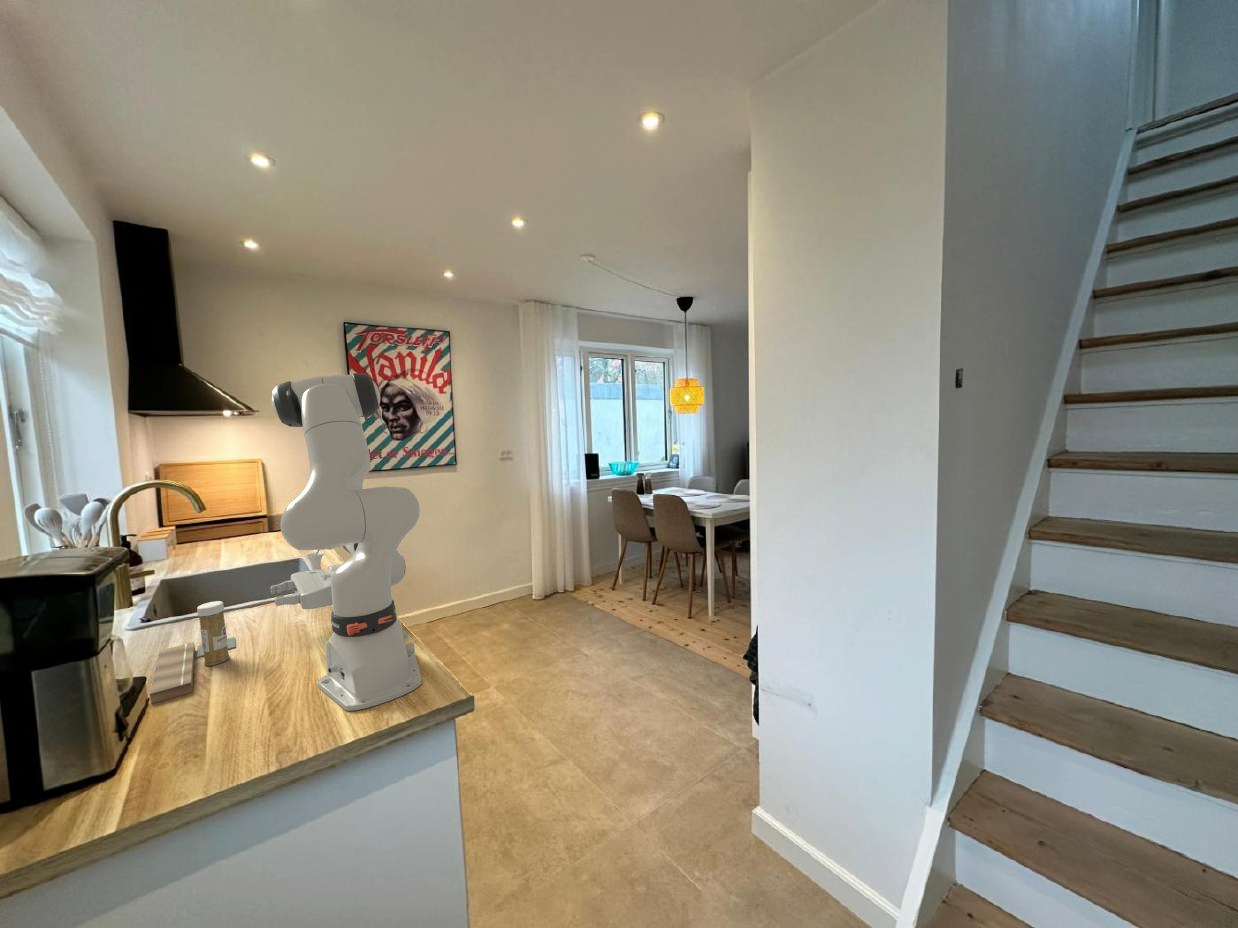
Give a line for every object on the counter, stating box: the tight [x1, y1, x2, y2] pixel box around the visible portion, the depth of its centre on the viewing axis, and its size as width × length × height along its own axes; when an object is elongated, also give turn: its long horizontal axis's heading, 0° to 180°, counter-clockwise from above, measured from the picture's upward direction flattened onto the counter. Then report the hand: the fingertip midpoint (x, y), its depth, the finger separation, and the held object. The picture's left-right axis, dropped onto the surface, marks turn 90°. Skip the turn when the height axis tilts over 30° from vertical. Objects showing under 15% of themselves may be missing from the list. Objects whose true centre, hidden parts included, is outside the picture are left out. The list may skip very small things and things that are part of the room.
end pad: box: [196, 636, 237, 658], centre depth 118 cm, size 7×7×1 cm
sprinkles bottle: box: [196, 600, 230, 667], centre depth 110 cm, size 5×5×13 cm
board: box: [149, 641, 196, 705], centre depth 106 cm, size 24×6×2 cm, turn 40°
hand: (273, 595), depth 117 cm, fingers open, 8 cm apart
